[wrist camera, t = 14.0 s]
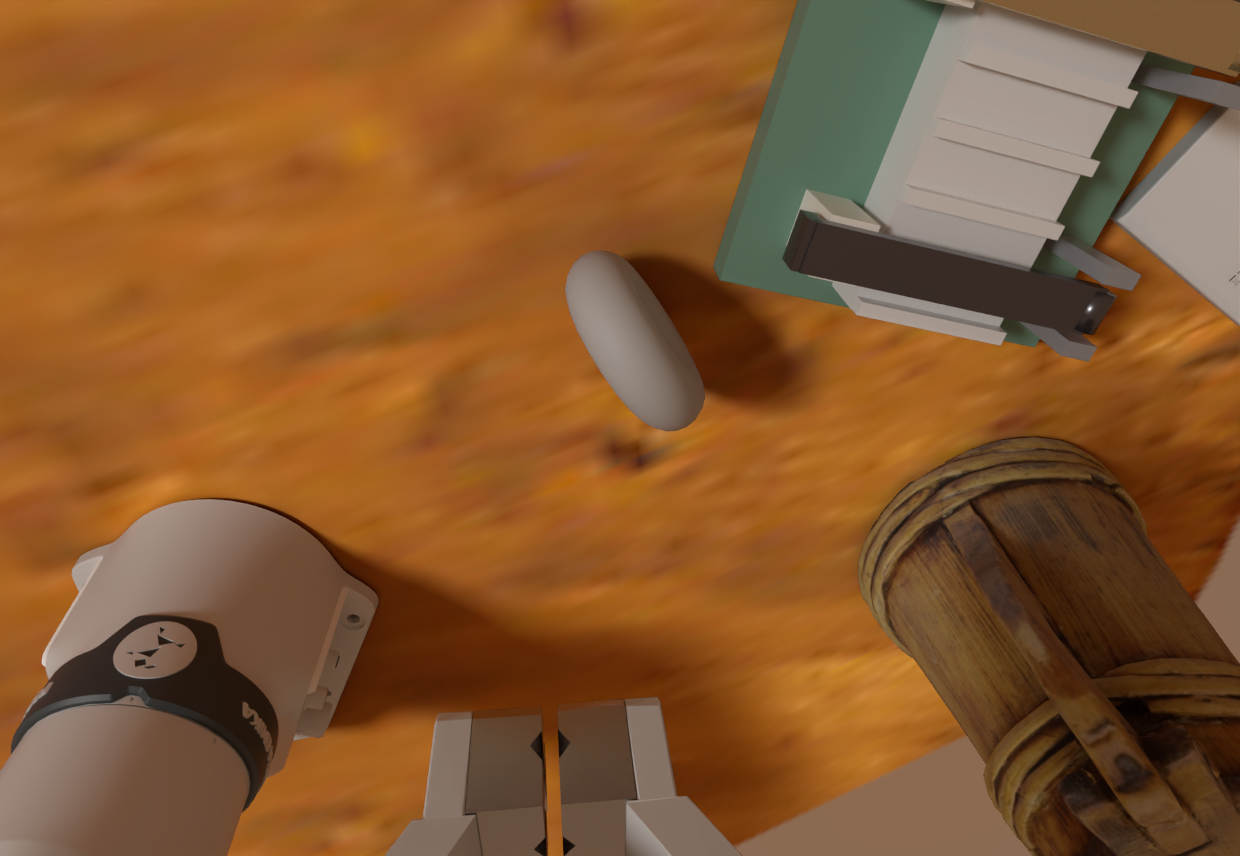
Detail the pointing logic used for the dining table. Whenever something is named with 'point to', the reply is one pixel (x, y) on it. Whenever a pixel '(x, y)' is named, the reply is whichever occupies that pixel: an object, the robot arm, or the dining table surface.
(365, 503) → the dining table surface
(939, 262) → the dark grey long bar
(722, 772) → the dining table surface
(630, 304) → the donut
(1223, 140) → the external hard drive
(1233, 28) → the strap brass
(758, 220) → the board
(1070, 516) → the tankard
